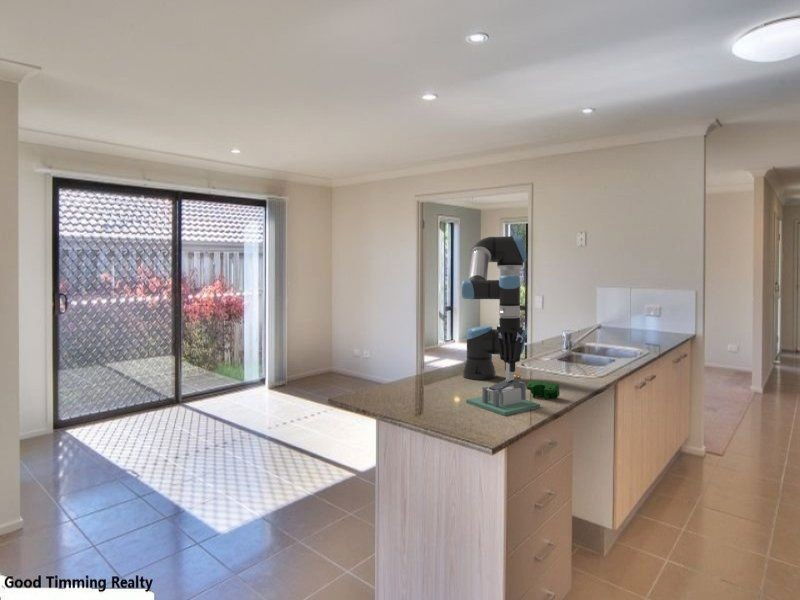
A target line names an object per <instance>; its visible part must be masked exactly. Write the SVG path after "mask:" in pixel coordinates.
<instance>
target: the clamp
mask: <svg viewBox="0 0 800 600" xmlns="http://www.w3.org/2000/svg"><path fill="white" fill-rule="evenodd" d="M559 385H560V384H559V383H555V382H548V381H541V380H535V379H531V380H530V381H529V382H528V383H526V390H528V391H530V393H531V394H532V398H533V399H534V398H536V397H538V396H539V397H544V400H545V401H548V400H549V398H550V399H557V398H559V396H560V386H559Z"/></svg>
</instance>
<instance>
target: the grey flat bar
mask: <svg viewBox="0 0 800 600" xmlns="http://www.w3.org/2000/svg"><path fill="white" fill-rule="evenodd" d="M519 381H521V382H523V380H522V375H519V374H514V380H511V381H508V380H506V379H504V380H502V381H499V382H498V383H496V384H493V385H491V386H489V387H488V389H490V390H499V391H500V390H502V389H505V388H507V387H511V386H514V384H515V383H517V382H519Z"/></svg>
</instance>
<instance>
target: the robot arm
mask: <svg viewBox="0 0 800 600" xmlns="http://www.w3.org/2000/svg"><path fill="white" fill-rule="evenodd" d="M526 250H527V249H526V244H525V239H524V238H523V237H522V236H516V235H514V236H513V235H511V236H488V237H484V238H482V239H480V240H479V241H477V242H476V243H475V244H473V246H472V247H471V249H470V251H469V256H468V257H469V260H470V266H469V273H468V278H467V279H464V280H462V282H461V297H462V299H465V300H471V301H472V300H499V306H498V307H499V323H498V324H496V328H495V329H494V328H493V327H492V326H491V325H480V326H474V327H470V328H468V329H467V331H466V337H465V339H466V361H465V363H464V364H465V365H464V367H463V370H462V376H463V378H465V379H470V380H481V381H482V380H483V381H484V380H491V379H495V378H496V377H497V375H496V370H495V366H494V363H493V355H497V356H498V355H499V359H500V361H503V362H504V371H505V380H508V381H511V380H514V375H515V372H516V363H518V362H520V360H521V356H522V354H523V352H524V348H525V343H526V335H527V330H526V329H524V325H522V323H521V318H520V316H521V279H520V278H521V273H520V272H521V271H520V270H521V269H522V268H523V267H524V263H525V262H527V252H526ZM489 263H496V264H497V265H496V267H497V268H498V269H499V270H500V273H499V274H500V276H499V279H488V271H489Z"/></svg>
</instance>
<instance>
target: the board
mask: <svg viewBox="0 0 800 600" xmlns="http://www.w3.org/2000/svg"><path fill="white" fill-rule="evenodd" d="M526 385H527V383H526V382H525V381H524V382H523V381H519V382H517V383H515V384H513V387H511V386H509V387H507V388H505V389H502V390H500V391H499V390H490V389H489V387H488V386H482V396H478V397H473V398H469V399H467V398H466V400H465V401H466V404H469V405H472V406H475V407H477V408H479V409H480V408H481V409H483V410H487V411H489V412H492V413H495V414H497V415H501V416H503V417H506V416H509V415H515V414H518V413H523V412H526V411H532V410H535V409H540V408H541V403H538V402H534V401H531V400H528V399H527V397H526V394H527V393H526V391H527V386H526Z"/></svg>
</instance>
